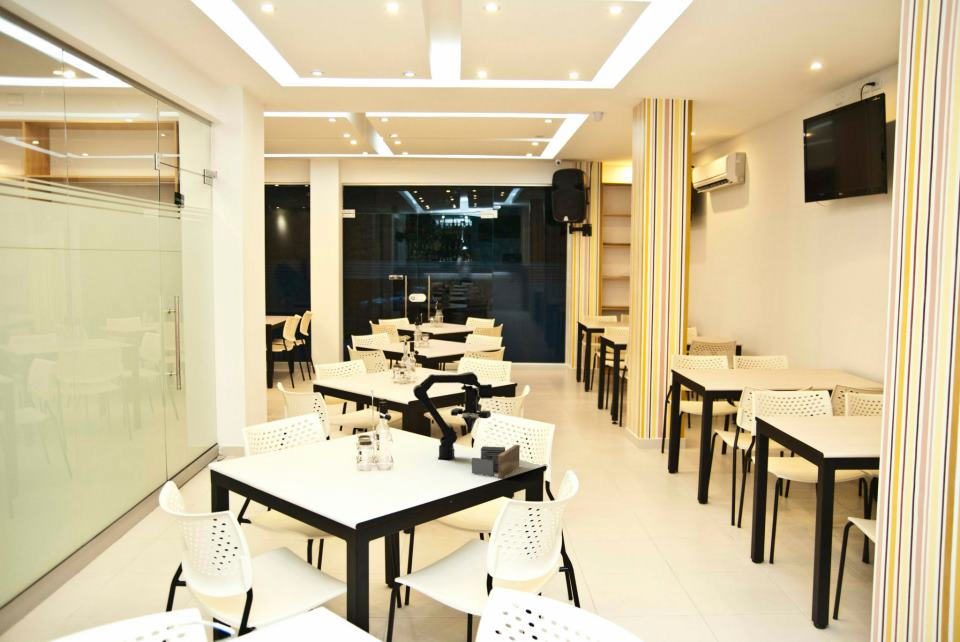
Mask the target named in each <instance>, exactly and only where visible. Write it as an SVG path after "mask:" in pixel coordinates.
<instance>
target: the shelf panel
mask: <svg viewBox="0 0 960 642" xmlns="http://www.w3.org/2000/svg"><path fill="white" fill-rule="evenodd" d="M520 447H521V445H519V444H514V445H513V446H512V447H509V448H507V449H505V451H504V452H503V453H501V454H500V455H498V473H497V479H499V478H500V480H502V479H505V478H506V477H507V476H508V475H510V474H511V473H513V472H514V471H515V470H514V469H516V468H517V467H518V468H520V451H521V450H520ZM518 468H517V469H518ZM517 469H516V470H517ZM513 470H514V471H513ZM512 471H513V472H512ZM510 472H511V473H510ZM509 473H510V474H509ZM506 475H507V476H506ZM505 476H506V477H505Z"/></svg>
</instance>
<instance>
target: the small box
mask: <svg viewBox="0 0 960 642" xmlns="http://www.w3.org/2000/svg"><path fill="white" fill-rule="evenodd" d="M504 451H506V447H505V446H482V447H481V448H480V458H482V459H491V460H494V472H498V455H500V454H501V453H503V452H504Z"/></svg>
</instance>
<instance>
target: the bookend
mask: <svg viewBox="0 0 960 642" xmlns="http://www.w3.org/2000/svg"><path fill="white" fill-rule="evenodd" d="M472 473H476V474H475V475H477V474H483V475H482V476H485V475H491V476H490V477H494V476H495V473H494V460H491V459H482V458H481V457H472V458H471V474H472ZM493 475H494V476H493Z"/></svg>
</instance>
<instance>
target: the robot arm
mask: <svg viewBox="0 0 960 642" xmlns="http://www.w3.org/2000/svg"><path fill="white" fill-rule="evenodd" d="M478 378H479V377H478V375H476V373H474V372H473V371H469V372H462V373H459V374H458V373H457V374H429V375H428V377H426V378H425V379H424V380H423V381H422V382H421V383H419V384H417V385H415V386H414V387H413V391H412V392H413V395H414V397H415V398H416V399H417V400H418V401H419V402H420V403H421V404H422V405H423V406H424V407H425V408H426V410H427V411H428V413H429V414H430V416H431V417H432V419H433V420H434V421H435V423H436V424H437V426H438V427H439V429H440V431H441V433H442V437H440V439H439V443H440V444H439V445H438V457H437V458H438V459H437V460H443V459H444V460H443V461H451V460H453V459H454V457H455V458H456V456H455V448H454V447H455V446H454V444H455V443H456V441H457V440H458V435H457V434H458V432H457V430H456V429H454V427H453V425H452V423H450V424H448V423H447V422H446V421H445V420H444V418H443V417H442V415H441V413H439V411H438V409H437V408H436V406H435V405H434V404H433V402H432V401H431V399H430V398H429V394H428V391H429V390H430V389H431V387H432V386H433V385H434V384H461V385H462V384H463V385H462V386H461V387H460V389H461V390H462V391H463V390H464V401H463V404H464V408H459V407H455V408H452V409H451V411H450V416H454V417H456V416H458V415H462V416H461V419H463V421H464V422H465V424H466V427H467V429H468V431H469V432H472V431H473V429H474V426H475V423H476V421H477V420H478V419H479V418H480V419H489V418H491V417H492V412H491V410H483V409H482V404H480V403H479V400H478V397H479V398H480V399H484V400H485V399H493V397H494V392H493V385H492V384H491V383H487V384H481V382H479V380H478ZM473 386H474V387H473Z"/></svg>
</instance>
